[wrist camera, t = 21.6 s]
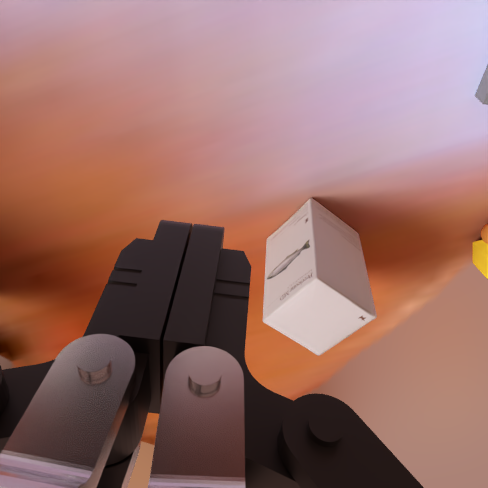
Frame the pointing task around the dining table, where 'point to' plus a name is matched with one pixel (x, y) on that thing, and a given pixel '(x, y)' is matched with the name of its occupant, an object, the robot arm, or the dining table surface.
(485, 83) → the press
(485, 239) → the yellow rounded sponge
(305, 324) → the supplement box
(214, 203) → the dining table surface
